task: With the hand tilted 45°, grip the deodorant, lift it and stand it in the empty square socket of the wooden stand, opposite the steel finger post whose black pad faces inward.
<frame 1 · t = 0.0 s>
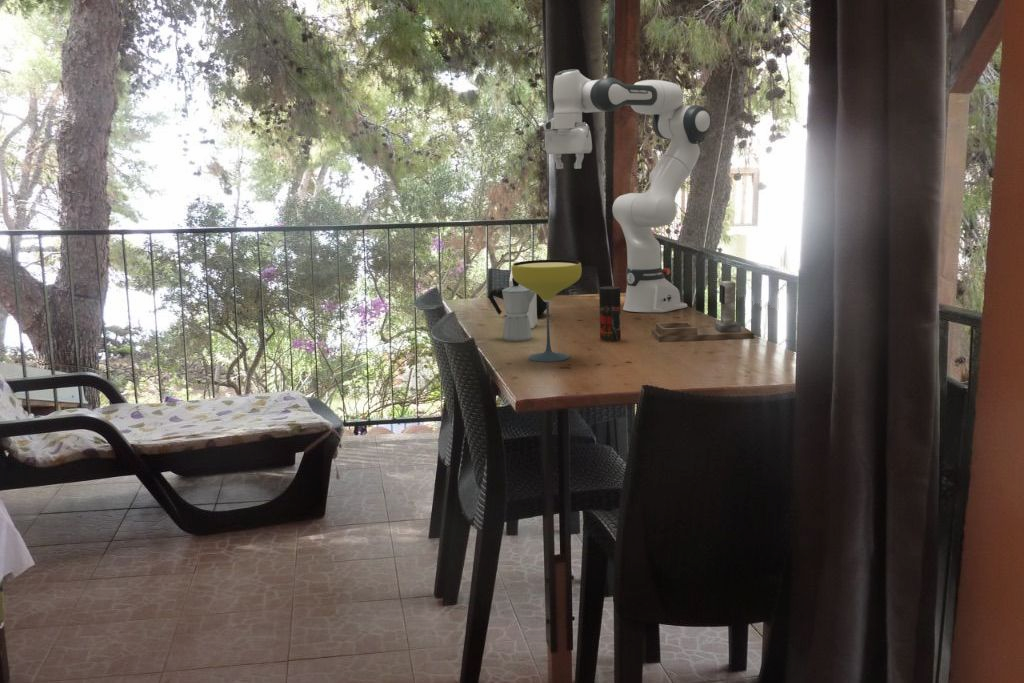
hand: (568, 168, 302), 48 cm above the table, tool pointing down, fingers open, 8 cm apart
deodorant: (610, 340, 277), on the table
squash: (527, 316, 321), on the table
coffee maker: (513, 339, 283), on the table
wooden stand: (701, 336, 278), on the table
cocktail glass: (548, 358, 255), on the table
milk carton: (524, 327, 302), on the table
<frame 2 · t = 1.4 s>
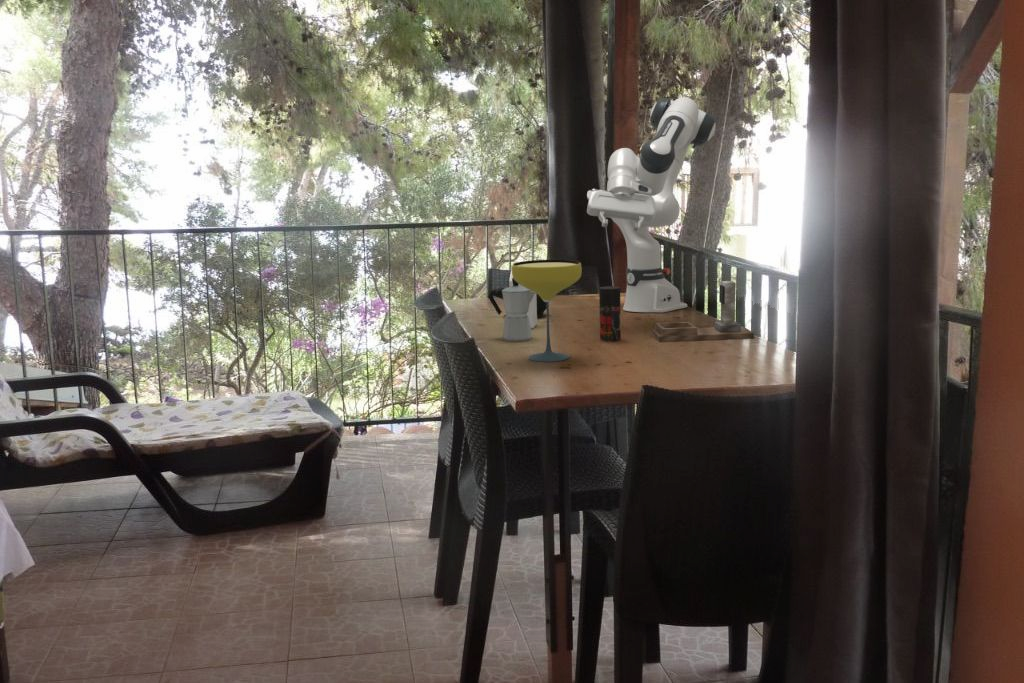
hand: (620, 227, 282), 31 cm above the table, tool tilted 45°, fingers open, 8 cm apart
nothing on the table moved.
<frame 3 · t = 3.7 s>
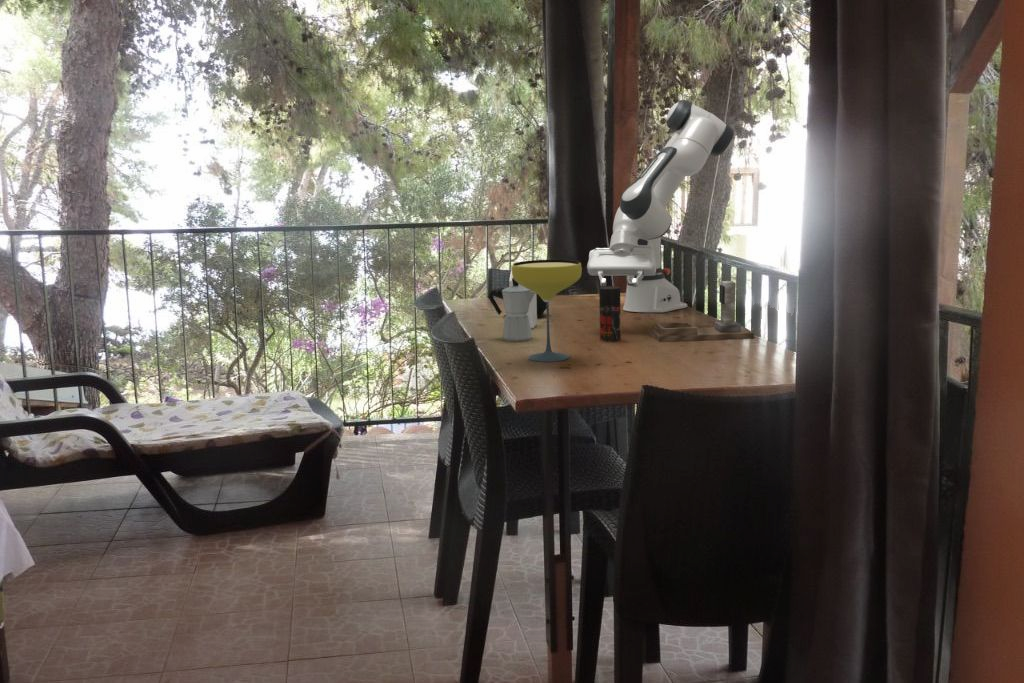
hand: (618, 285, 281), 15 cm above the table, tool tilted 45°, fingers open, 8 cm apart
nothing on the table moved.
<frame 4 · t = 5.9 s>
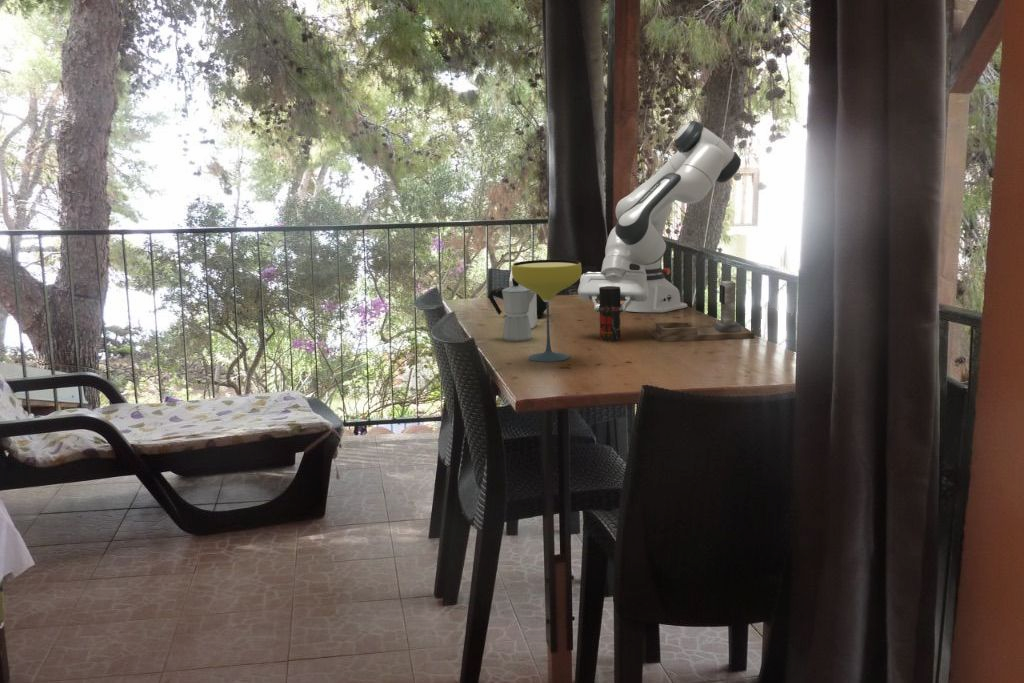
hand: (609, 311, 275), 8 cm above the table, tool tilted 45°, fingers closed on deodorant, 6 cm apart
deodorant: (610, 340, 277), on the table, touching gripper
everything else where it was.
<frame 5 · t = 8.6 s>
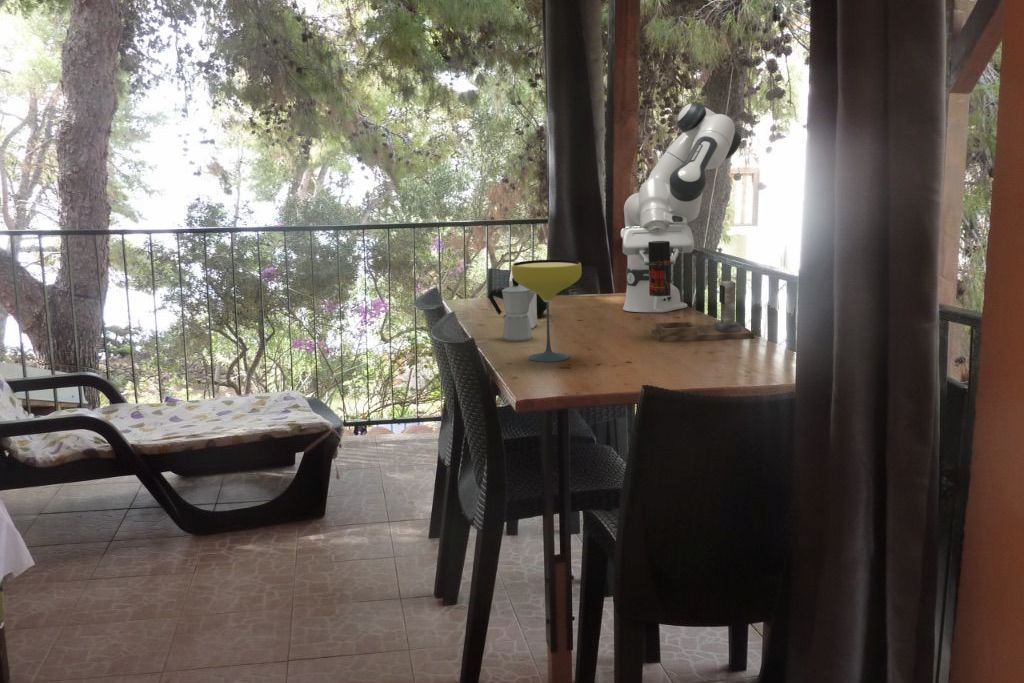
hand: (659, 263, 272), 22 cm above the table, tool tilted 45°, fingers closed on deodorant, 6 cm apart
deodorant: (659, 295, 275), point 12 cm above the table, touching gripper
everything else where it was.
when the fingers open (11 cm above the table, at t = 11.5 s): deodorant stays where it is, resting on wooden stand.
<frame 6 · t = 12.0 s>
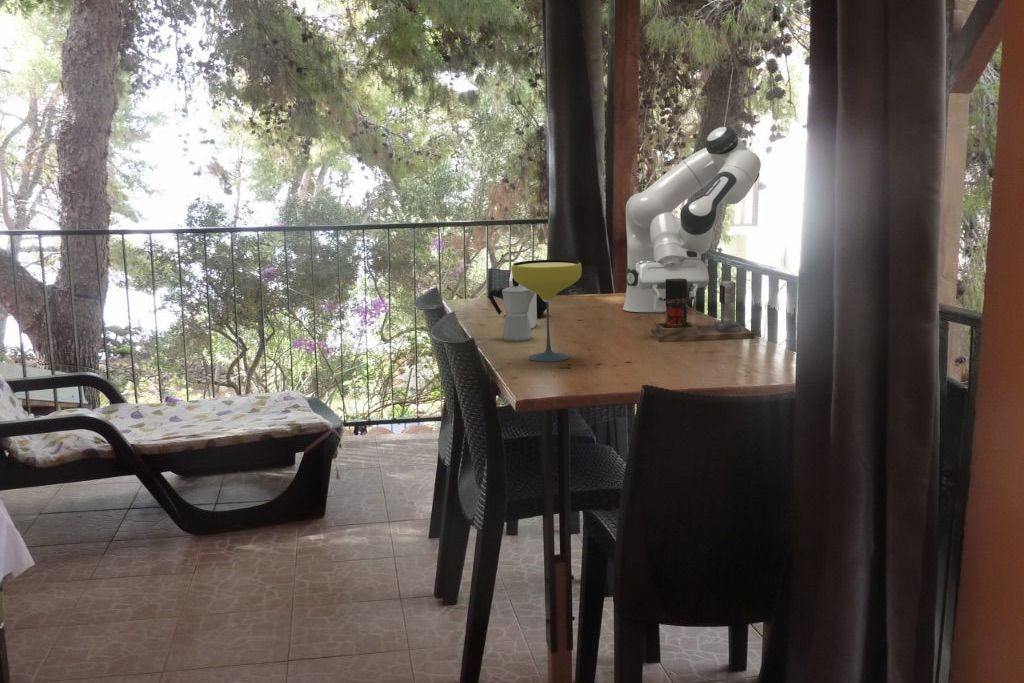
hand: (676, 298, 275), 11 cm above the table, tool tilted 45°, fingers open, 8 cm apart
deodorant: (676, 332, 277), point 2 cm above the table, touching wooden stand
everything else where it was.
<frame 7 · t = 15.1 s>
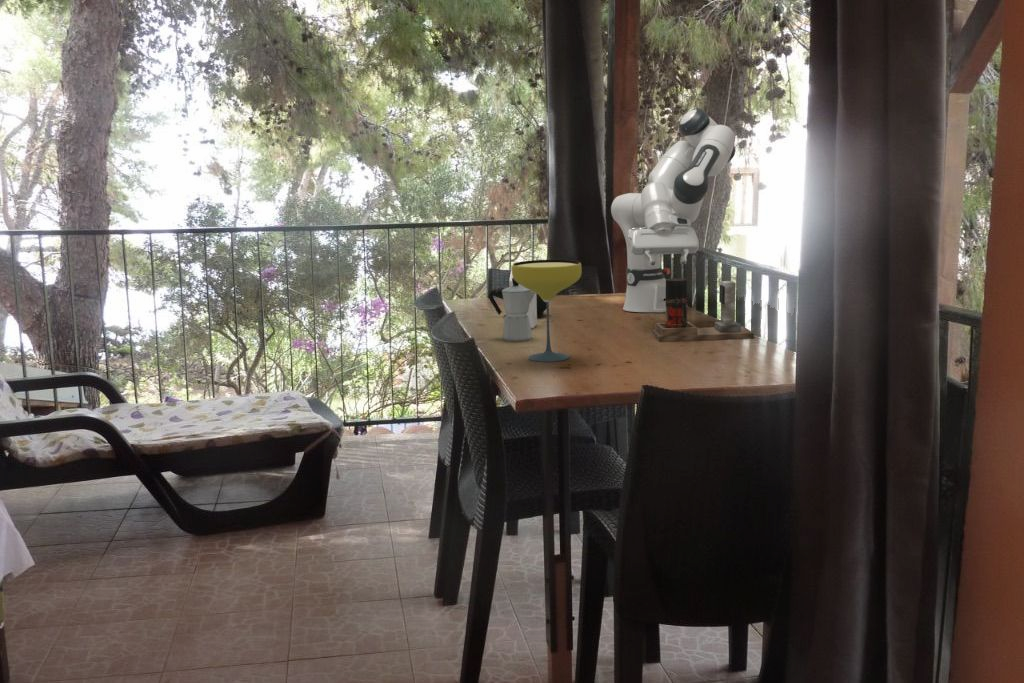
hand: (668, 263, 285), 20 cm above the table, tool tilted 45°, fingers open, 8 cm apart
nothing on the table moved.
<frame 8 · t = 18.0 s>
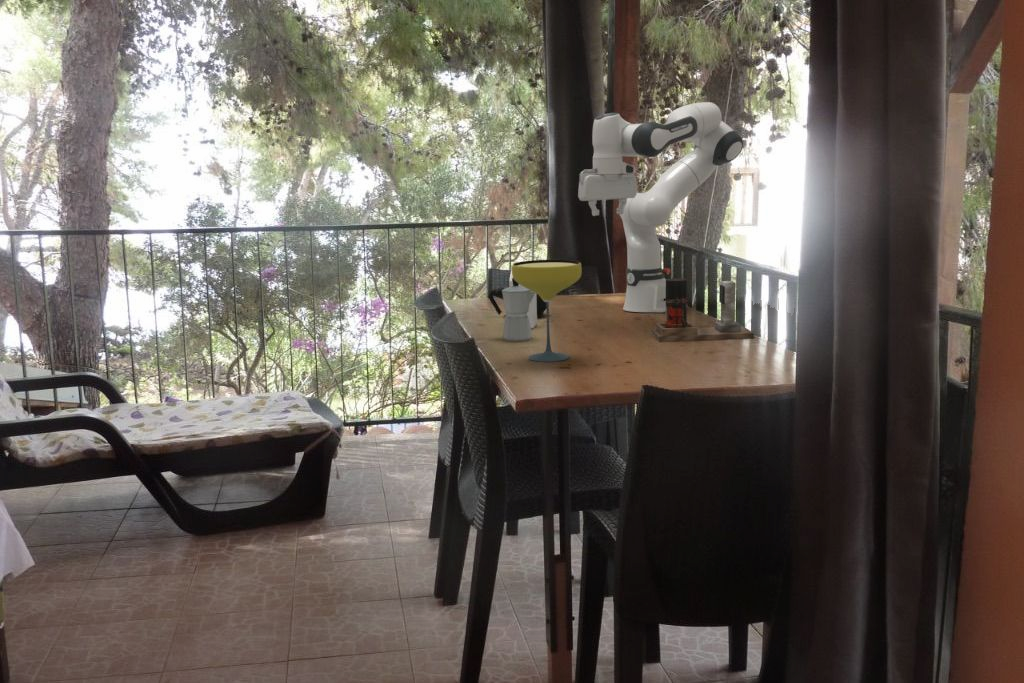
hand: (607, 214, 293), 34 cm above the table, tool pointing down, fingers open, 8 cm apart
nothing on the table moved.
at the end: deodorant 0.1 cm from the target spot, point 1.5 cm above the table; deodorant tilted 0°; the gripper is holding nothing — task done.
